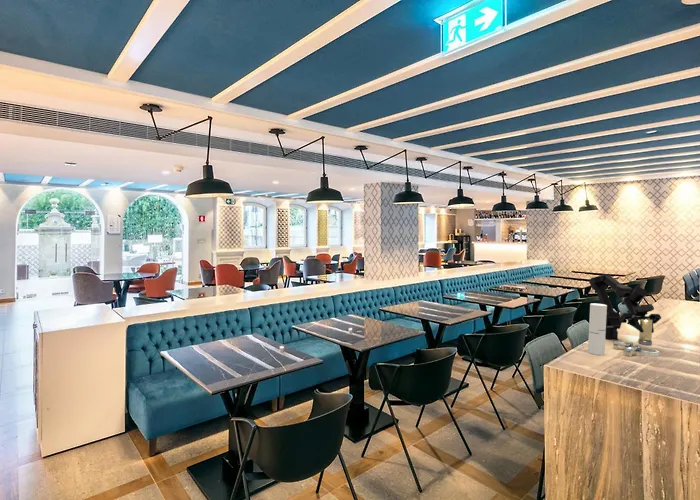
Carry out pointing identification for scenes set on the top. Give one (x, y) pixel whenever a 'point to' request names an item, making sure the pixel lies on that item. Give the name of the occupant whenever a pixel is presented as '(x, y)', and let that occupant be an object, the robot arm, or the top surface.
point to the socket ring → (649, 352)
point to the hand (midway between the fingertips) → (647, 332)
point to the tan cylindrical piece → (645, 332)
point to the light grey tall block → (597, 329)
